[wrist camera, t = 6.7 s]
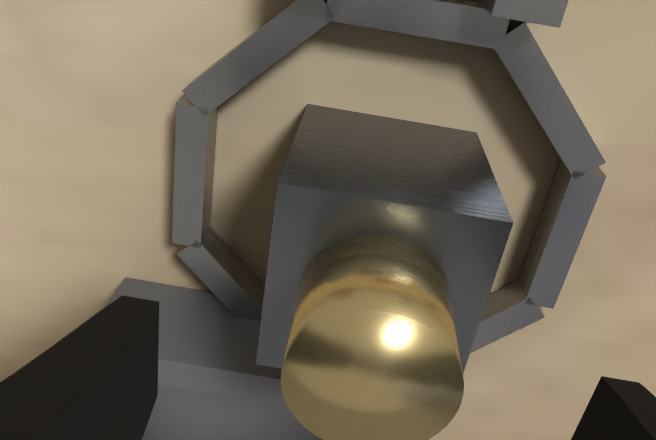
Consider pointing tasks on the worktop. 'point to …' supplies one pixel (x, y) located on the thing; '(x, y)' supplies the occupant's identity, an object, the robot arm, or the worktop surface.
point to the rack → (211, 372)
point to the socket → (420, 20)
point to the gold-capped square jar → (379, 273)
